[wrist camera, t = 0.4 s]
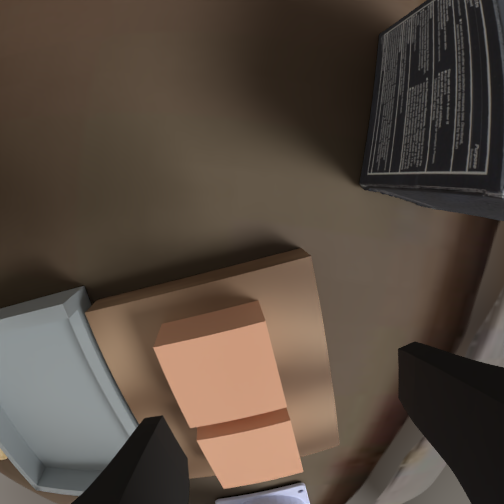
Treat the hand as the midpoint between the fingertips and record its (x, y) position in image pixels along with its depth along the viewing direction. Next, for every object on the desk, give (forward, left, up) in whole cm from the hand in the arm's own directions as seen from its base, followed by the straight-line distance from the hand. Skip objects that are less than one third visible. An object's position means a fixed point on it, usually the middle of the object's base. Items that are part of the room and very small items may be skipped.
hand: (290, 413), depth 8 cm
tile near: (-2, +2, -8) cm, 8 cm away
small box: (+8, -12, -10) cm, 18 cm away
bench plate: (-5, +3, -10) cm, 11 cm away
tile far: (-8, +2, -8) cm, 11 cm away
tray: (-5, +16, -10) cm, 20 cm away
